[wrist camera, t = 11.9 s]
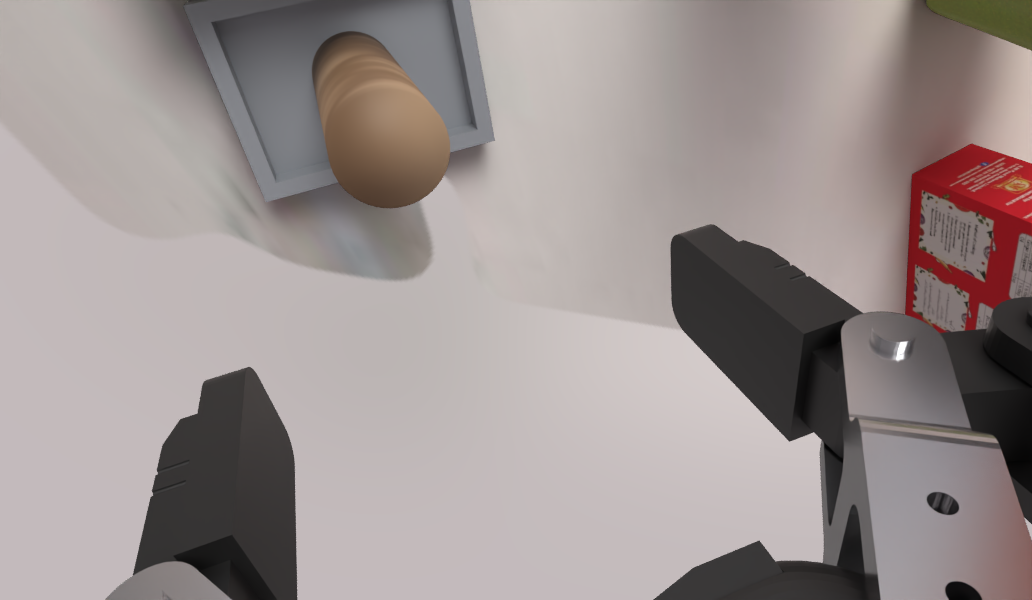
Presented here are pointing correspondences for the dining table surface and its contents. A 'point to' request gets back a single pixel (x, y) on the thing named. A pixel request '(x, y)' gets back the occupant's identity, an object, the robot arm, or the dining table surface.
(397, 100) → the wooden dowel
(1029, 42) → the plant pot
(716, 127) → the dining table surface
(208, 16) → the tray
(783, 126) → the dining table surface
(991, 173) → the food packaging
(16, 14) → the dining table surface
